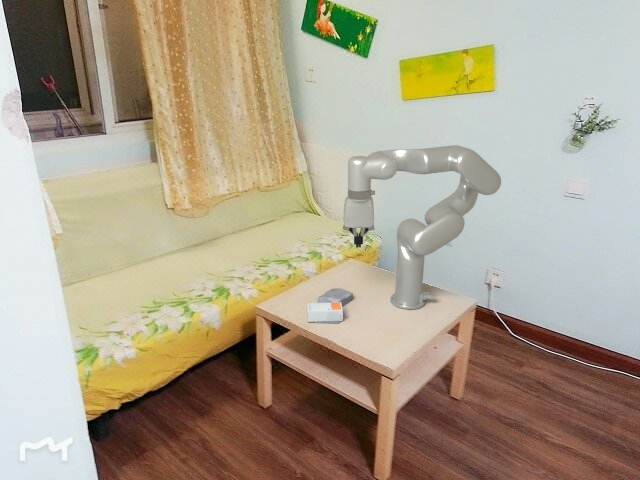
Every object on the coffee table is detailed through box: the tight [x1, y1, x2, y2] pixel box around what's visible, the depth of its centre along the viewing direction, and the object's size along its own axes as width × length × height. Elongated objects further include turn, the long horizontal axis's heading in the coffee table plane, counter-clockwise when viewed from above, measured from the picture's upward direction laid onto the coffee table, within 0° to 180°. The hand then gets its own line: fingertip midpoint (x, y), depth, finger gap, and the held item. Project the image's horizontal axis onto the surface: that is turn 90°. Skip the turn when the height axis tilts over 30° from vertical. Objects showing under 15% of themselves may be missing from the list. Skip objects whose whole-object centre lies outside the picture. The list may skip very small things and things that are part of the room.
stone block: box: [317, 287, 354, 308], centre depth 172 cm, size 12×5×10 cm
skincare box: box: [306, 302, 344, 323], centre depth 160 cm, size 6×4×12 cm
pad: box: [315, 321, 340, 325], centre depth 161 cm, size 8×9×1 cm
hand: (358, 245), depth 160 cm, fingers closed
